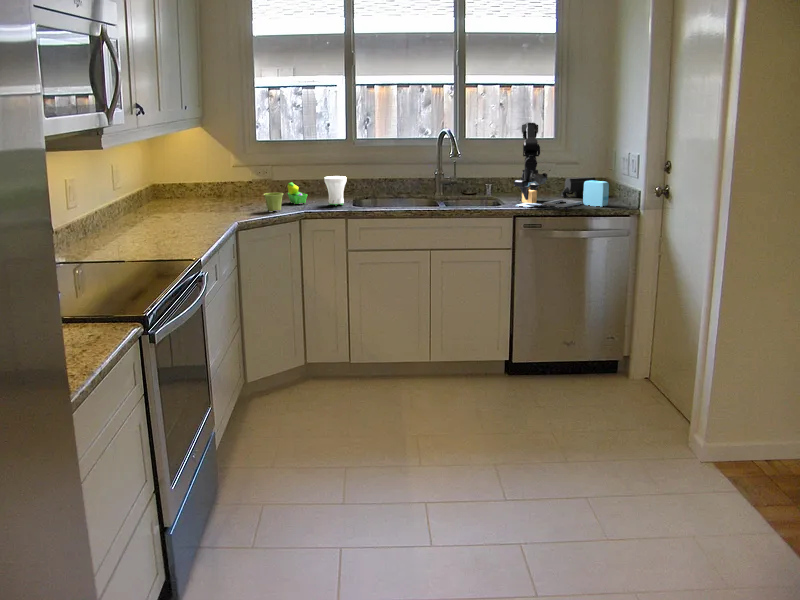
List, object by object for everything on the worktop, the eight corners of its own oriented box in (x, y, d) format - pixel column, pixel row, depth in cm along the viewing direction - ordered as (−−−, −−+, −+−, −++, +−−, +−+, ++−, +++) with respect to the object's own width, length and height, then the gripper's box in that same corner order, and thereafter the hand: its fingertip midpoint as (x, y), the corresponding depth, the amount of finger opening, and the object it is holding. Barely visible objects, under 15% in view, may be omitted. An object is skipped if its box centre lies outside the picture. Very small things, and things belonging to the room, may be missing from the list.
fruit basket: (308, 204, 399) (307, 182, 396) (292, 205, 395) (291, 183, 392) (301, 201, 409) (300, 180, 406) (285, 203, 405) (284, 181, 402)
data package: (608, 206, 380) (609, 182, 377) (602, 207, 377) (603, 182, 374) (588, 203, 389) (589, 179, 386) (582, 204, 386) (583, 180, 383)
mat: (515, 206, 385) (515, 204, 385) (527, 203, 391) (527, 202, 391) (530, 207, 378) (530, 206, 378) (542, 205, 385) (542, 204, 385)
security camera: (559, 196, 415) (559, 177, 413) (590, 195, 420) (591, 176, 417) (564, 198, 409) (565, 179, 406) (596, 196, 413) (597, 178, 410)
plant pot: (273, 209, 383) (272, 192, 381) (288, 210, 379) (287, 193, 377) (260, 212, 376) (259, 194, 373) (275, 213, 371) (274, 195, 369)
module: (521, 202, 385) (522, 190, 384) (526, 201, 388) (527, 189, 386) (531, 203, 381) (532, 191, 380) (536, 202, 384) (537, 190, 382)
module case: (543, 205, 385) (543, 202, 384) (561, 202, 396) (561, 199, 395) (563, 208, 377) (563, 205, 376) (581, 204, 387) (582, 201, 387)
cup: (351, 205, 393) (350, 177, 389) (331, 207, 388) (330, 179, 384) (341, 203, 402) (340, 175, 399) (321, 204, 397) (320, 177, 393)
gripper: (532, 170, 368) (531, 203, 372) (555, 167, 381) (553, 198, 385) (513, 168, 376) (512, 200, 380) (536, 165, 388) (535, 196, 393)
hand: (529, 199), depth 384 cm, fingers closed on module, 4 cm apart
